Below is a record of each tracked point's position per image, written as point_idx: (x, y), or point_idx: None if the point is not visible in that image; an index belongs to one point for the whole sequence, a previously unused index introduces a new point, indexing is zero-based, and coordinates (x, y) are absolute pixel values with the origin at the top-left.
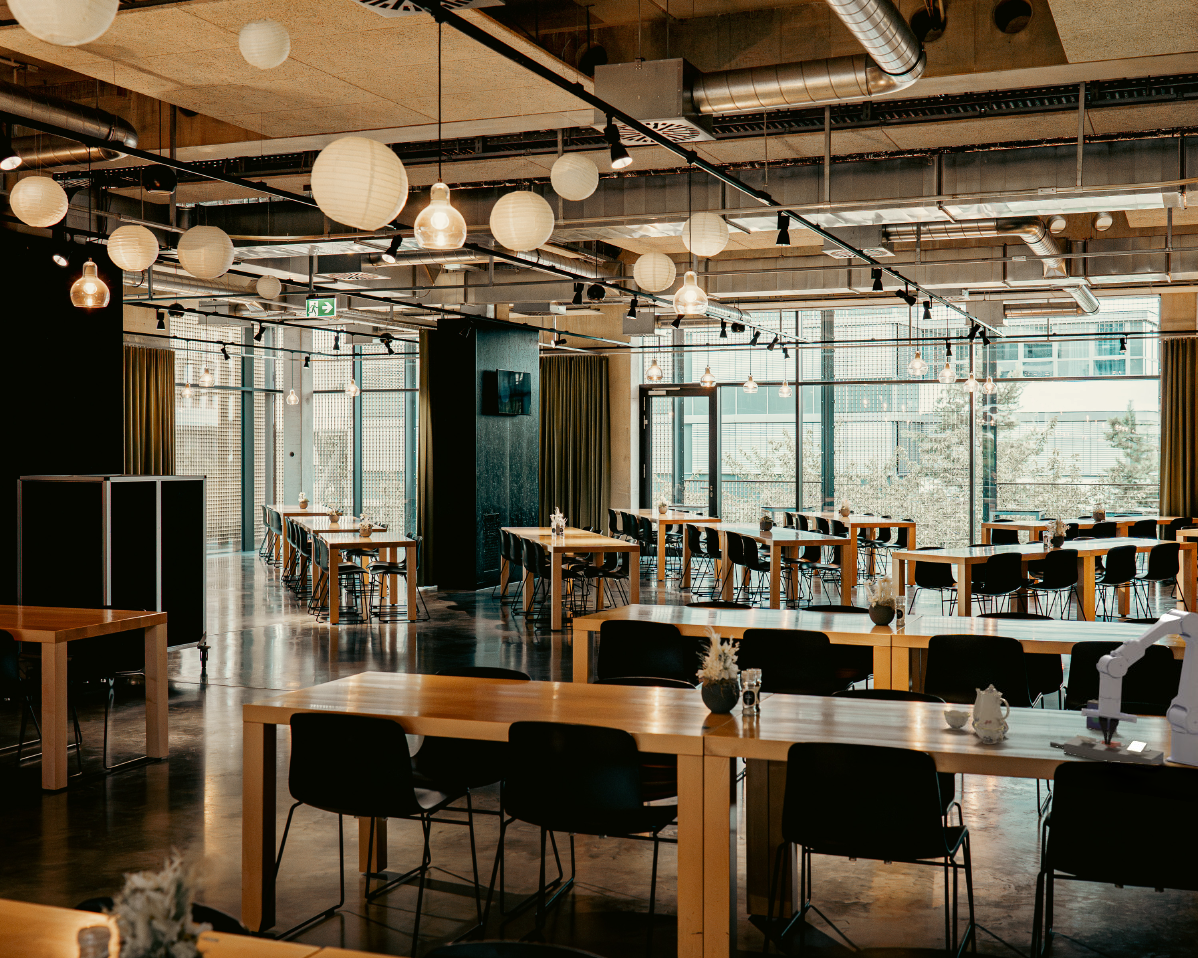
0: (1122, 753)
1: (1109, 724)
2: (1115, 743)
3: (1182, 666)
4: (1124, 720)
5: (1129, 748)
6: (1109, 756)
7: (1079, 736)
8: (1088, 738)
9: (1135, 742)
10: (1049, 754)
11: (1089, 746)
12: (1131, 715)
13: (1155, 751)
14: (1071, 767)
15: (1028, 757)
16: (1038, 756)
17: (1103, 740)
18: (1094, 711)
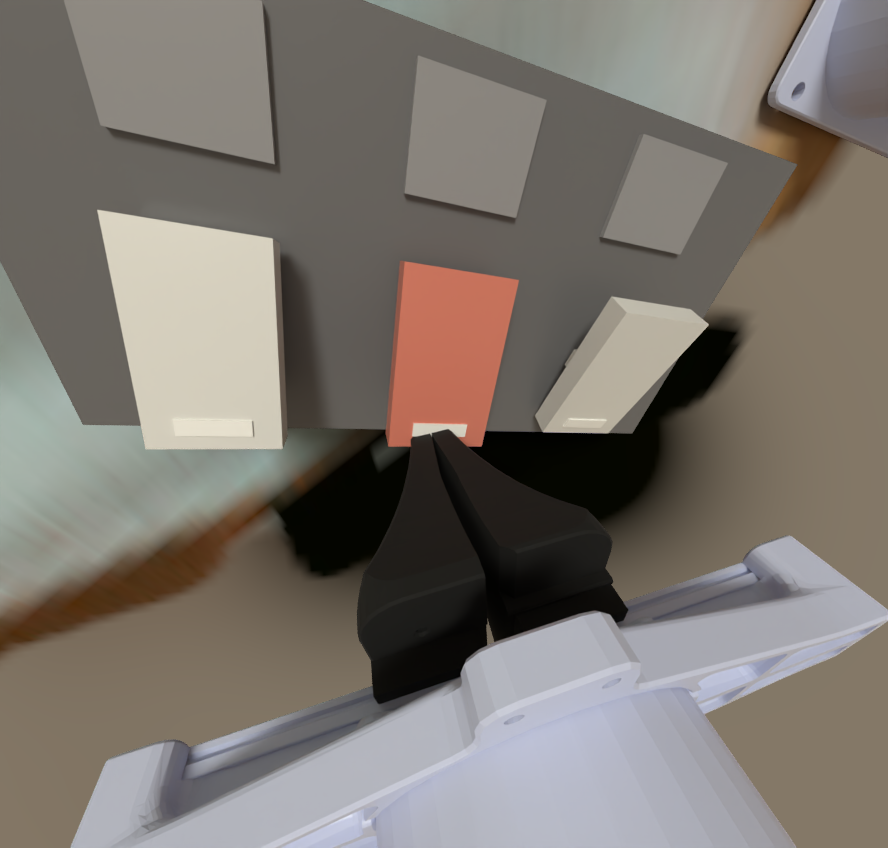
0: (507, 418)
1: (494, 638)
2: (483, 425)
3: None
4: (665, 608)
5: (559, 418)
6: None
7: (181, 444)
8: (274, 442)
9: (630, 336)
10: (98, 468)
11: (288, 388)
12: (807, 657)
13: (736, 196)
14: (318, 566)
15: (87, 573)
16: (99, 534)
17: (393, 408)
18: (322, 831)
